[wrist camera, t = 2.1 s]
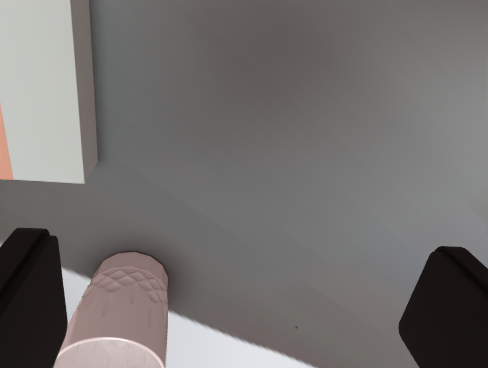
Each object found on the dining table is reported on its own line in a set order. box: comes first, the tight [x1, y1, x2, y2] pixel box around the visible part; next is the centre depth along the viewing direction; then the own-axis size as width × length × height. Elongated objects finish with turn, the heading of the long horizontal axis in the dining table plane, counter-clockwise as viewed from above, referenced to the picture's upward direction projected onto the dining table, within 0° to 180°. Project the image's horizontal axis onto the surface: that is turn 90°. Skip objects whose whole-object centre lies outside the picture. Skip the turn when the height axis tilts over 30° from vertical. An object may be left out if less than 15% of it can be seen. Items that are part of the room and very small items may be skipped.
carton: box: [0, 0, 98, 184], centre depth 23 cm, size 8×12×4 cm
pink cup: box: [53, 252, 168, 368], centre depth 29 cm, size 8×8×10 cm
